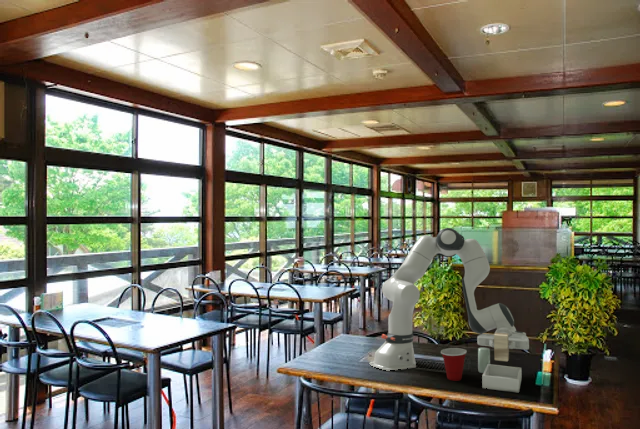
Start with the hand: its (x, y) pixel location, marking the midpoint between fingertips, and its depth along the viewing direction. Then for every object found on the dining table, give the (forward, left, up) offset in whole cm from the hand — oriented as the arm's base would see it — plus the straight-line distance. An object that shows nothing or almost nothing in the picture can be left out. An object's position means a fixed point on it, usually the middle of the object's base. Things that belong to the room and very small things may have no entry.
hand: (501, 346), depth 202 cm
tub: (+4, +2, -16) cm, 17 cm away
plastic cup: (-7, +18, -17) cm, 26 cm away
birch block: (+1, 0, -5) cm, 6 cm away
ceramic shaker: (+12, +17, -17) cm, 27 cm away
